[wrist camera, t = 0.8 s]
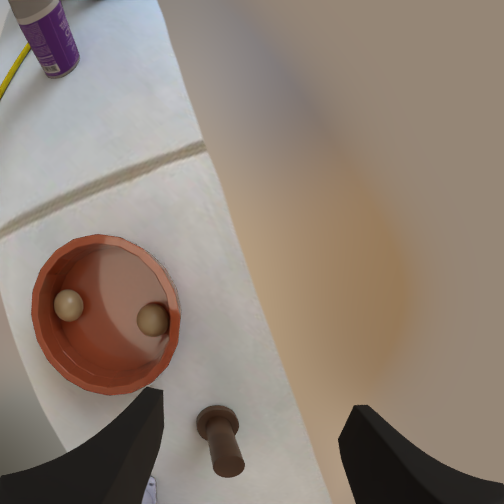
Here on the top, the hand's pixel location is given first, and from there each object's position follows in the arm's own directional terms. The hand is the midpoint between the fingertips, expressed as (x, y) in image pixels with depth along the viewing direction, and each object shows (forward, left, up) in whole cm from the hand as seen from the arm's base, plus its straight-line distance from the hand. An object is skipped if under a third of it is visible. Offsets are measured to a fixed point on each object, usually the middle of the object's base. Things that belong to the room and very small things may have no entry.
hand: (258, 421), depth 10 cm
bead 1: (+1, +13, -15) cm, 20 cm away
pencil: (+23, +30, -17) cm, 42 cm away
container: (+27, +23, -17) cm, 39 cm away
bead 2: (+1, +5, -15) cm, 16 cm away
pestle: (-9, -1, -17) cm, 19 cm away
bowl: (+1, +9, -17) cm, 20 cm away
